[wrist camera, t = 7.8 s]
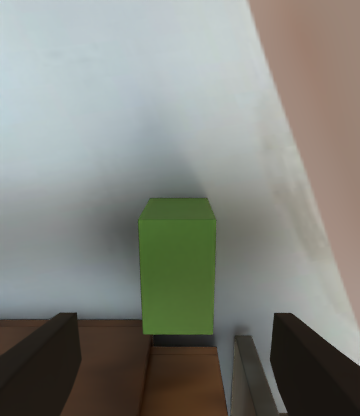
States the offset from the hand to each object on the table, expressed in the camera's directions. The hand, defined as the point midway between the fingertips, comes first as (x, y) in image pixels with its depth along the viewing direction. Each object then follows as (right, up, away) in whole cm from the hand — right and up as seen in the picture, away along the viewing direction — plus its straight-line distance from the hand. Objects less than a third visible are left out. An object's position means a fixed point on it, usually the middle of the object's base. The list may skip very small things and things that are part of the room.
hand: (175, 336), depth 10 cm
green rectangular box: (0, +2, +9) cm, 9 cm away
